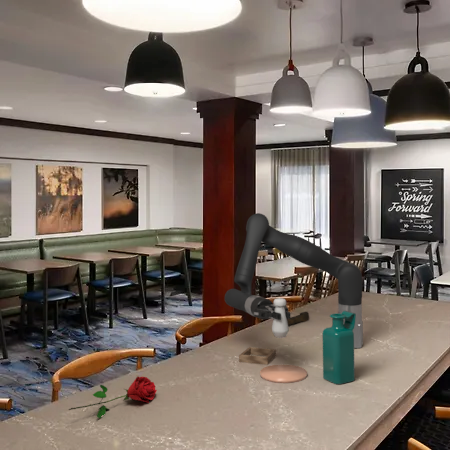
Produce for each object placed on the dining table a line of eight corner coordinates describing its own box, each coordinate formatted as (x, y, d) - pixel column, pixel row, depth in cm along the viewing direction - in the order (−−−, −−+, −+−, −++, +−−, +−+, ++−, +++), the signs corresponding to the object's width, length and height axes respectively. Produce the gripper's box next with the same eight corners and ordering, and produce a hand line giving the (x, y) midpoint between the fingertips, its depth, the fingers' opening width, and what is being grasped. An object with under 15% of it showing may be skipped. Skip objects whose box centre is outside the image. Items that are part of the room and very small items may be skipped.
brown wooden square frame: (276, 355, 199) (276, 349, 199) (267, 364, 189) (267, 357, 189) (249, 353, 203) (249, 347, 203) (239, 361, 193) (239, 355, 193)
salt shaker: (270, 334, 181) (270, 297, 180) (287, 333, 181) (286, 296, 181) (273, 338, 175) (272, 300, 174) (290, 338, 176) (289, 300, 175)
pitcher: (337, 385, 166) (336, 318, 165) (320, 377, 174) (319, 313, 173) (360, 380, 171) (359, 314, 170) (343, 372, 178) (342, 309, 177)
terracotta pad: (311, 369, 182) (311, 367, 182) (300, 385, 167) (300, 382, 167) (268, 365, 188) (268, 362, 188) (253, 379, 173) (253, 377, 173)
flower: (75, 387, 139) (160, 367, 162) (58, 396, 145) (143, 376, 167) (83, 421, 136) (168, 396, 159) (65, 429, 142) (150, 404, 164)
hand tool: (287, 328, 242) (286, 318, 242) (280, 326, 245) (280, 316, 245) (313, 321, 254) (313, 311, 254) (307, 319, 257) (306, 310, 257)
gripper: (241, 299, 187) (266, 307, 172) (274, 294, 193) (301, 302, 178) (242, 319, 188) (267, 330, 172) (275, 314, 194) (302, 324, 179)
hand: (284, 316), depth 175 cm, fingers closed on salt shaker, 3 cm apart
